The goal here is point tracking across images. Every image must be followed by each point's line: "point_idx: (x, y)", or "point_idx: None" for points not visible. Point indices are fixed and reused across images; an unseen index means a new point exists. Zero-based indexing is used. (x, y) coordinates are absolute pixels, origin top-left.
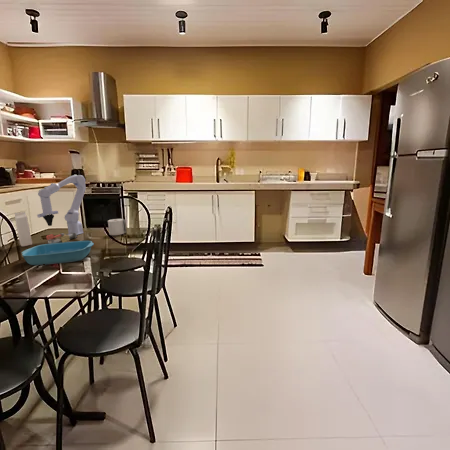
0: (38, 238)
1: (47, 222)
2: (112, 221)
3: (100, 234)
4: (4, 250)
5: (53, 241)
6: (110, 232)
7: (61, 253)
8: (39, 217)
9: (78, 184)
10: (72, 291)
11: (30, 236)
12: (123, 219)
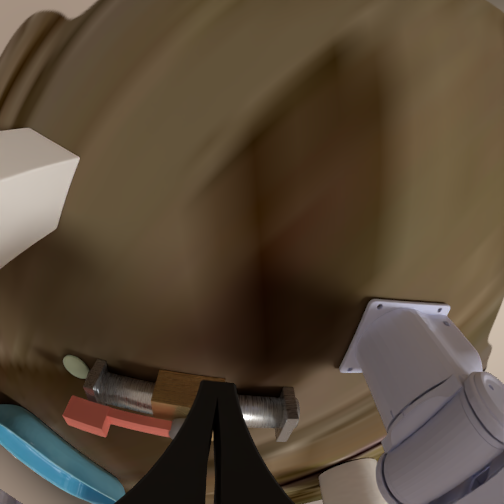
0: (246, 73)
1: (191, 428)
2: None
3: (347, 446)
4: None
5: (105, 405)
6: (325, 481)
7: (42, 475)
8: (11, 498)
9: None
10: (32, 470)
11: (11, 257)
12: None
